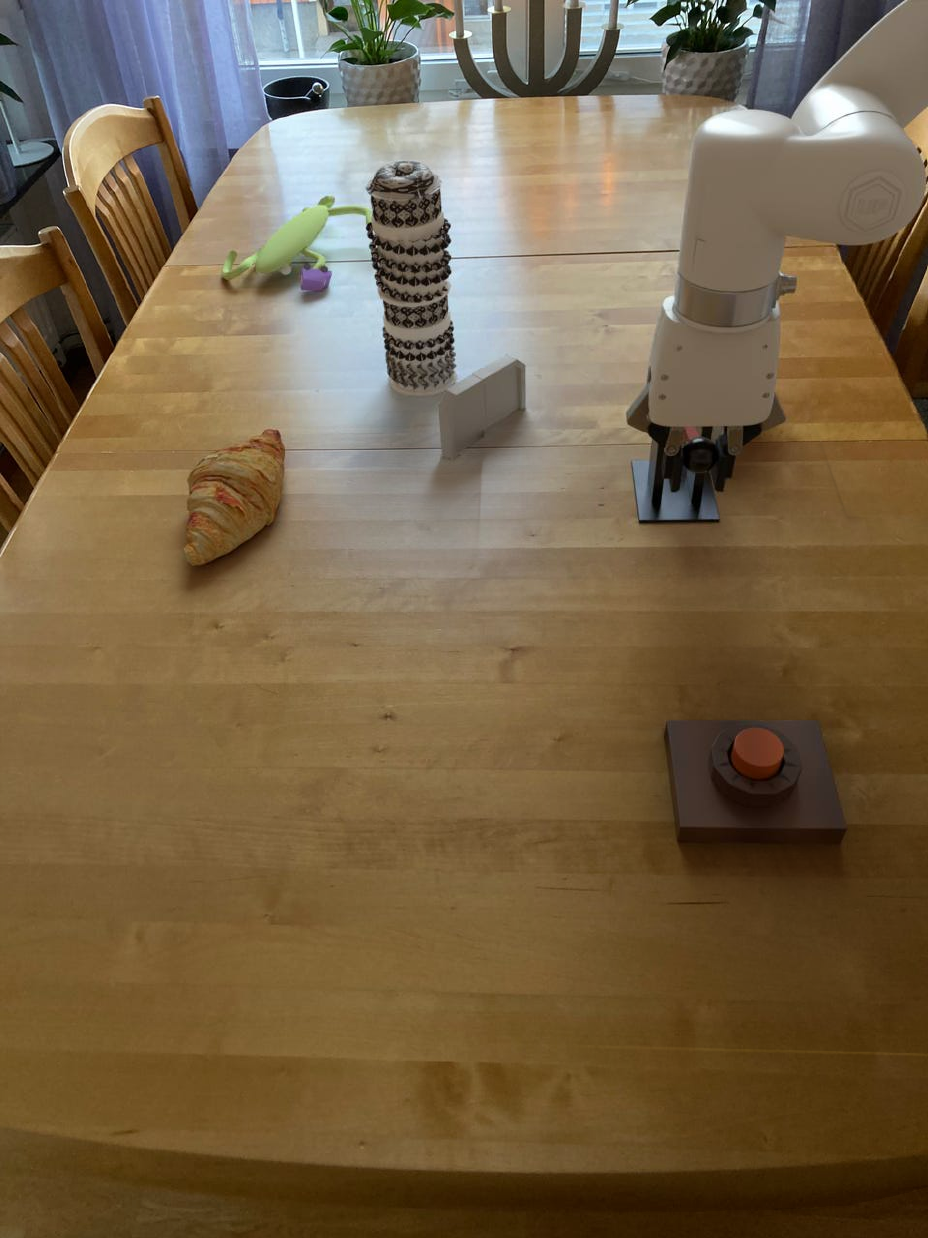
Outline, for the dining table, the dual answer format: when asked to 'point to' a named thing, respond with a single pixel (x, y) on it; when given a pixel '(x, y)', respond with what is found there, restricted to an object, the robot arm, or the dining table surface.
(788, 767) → the button housing
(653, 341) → the robot arm
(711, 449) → the switch lever
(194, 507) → the croissant
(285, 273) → the figurine
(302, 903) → the dining table surface
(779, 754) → the button
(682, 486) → the switch bracket
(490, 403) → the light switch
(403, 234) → the decorative candle
